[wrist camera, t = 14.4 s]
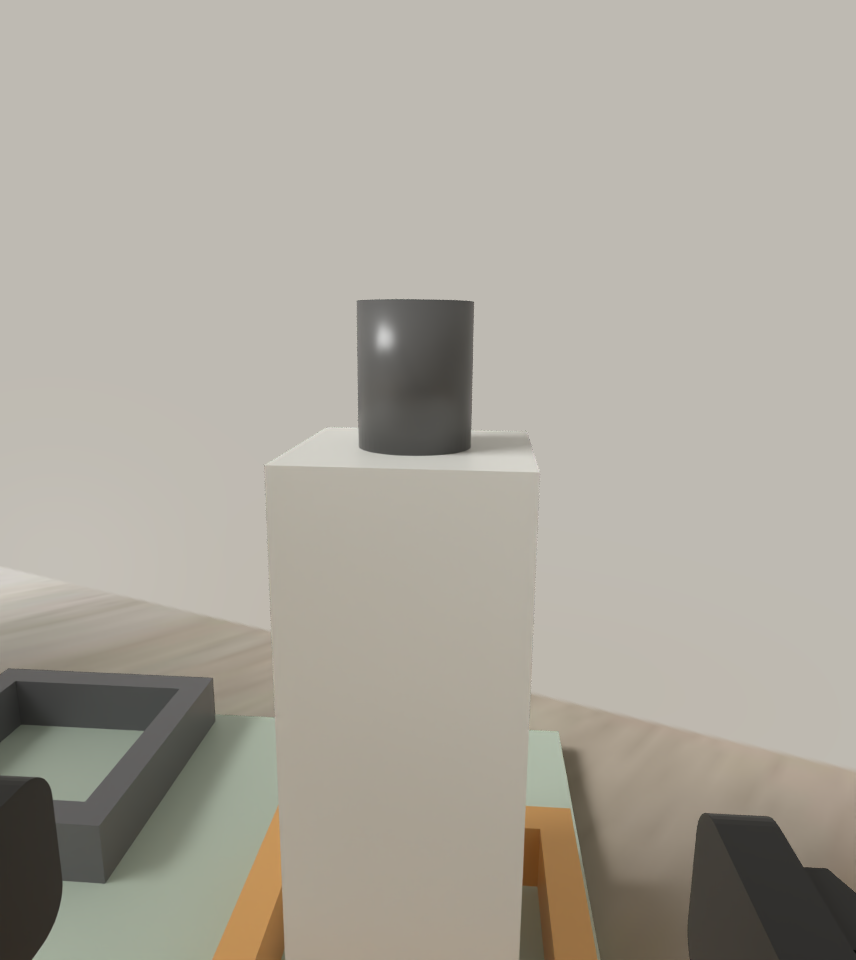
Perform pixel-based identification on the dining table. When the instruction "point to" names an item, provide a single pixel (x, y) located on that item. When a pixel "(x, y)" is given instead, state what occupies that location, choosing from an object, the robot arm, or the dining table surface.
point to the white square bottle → (403, 657)
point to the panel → (215, 822)
